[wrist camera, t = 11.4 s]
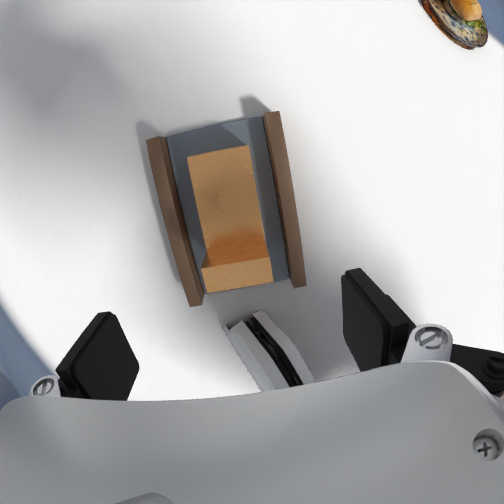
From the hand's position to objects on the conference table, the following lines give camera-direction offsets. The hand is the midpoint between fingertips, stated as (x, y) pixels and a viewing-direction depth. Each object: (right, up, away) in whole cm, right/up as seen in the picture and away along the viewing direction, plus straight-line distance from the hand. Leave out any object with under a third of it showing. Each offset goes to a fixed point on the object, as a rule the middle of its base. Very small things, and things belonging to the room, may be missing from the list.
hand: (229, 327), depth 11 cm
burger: (+27, +34, +8) cm, 44 cm away
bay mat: (-1, +7, +16) cm, 17 cm away
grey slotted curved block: (+4, -11, +23) cm, 25 cm away
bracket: (-1, +7, +15) cm, 17 cm away
